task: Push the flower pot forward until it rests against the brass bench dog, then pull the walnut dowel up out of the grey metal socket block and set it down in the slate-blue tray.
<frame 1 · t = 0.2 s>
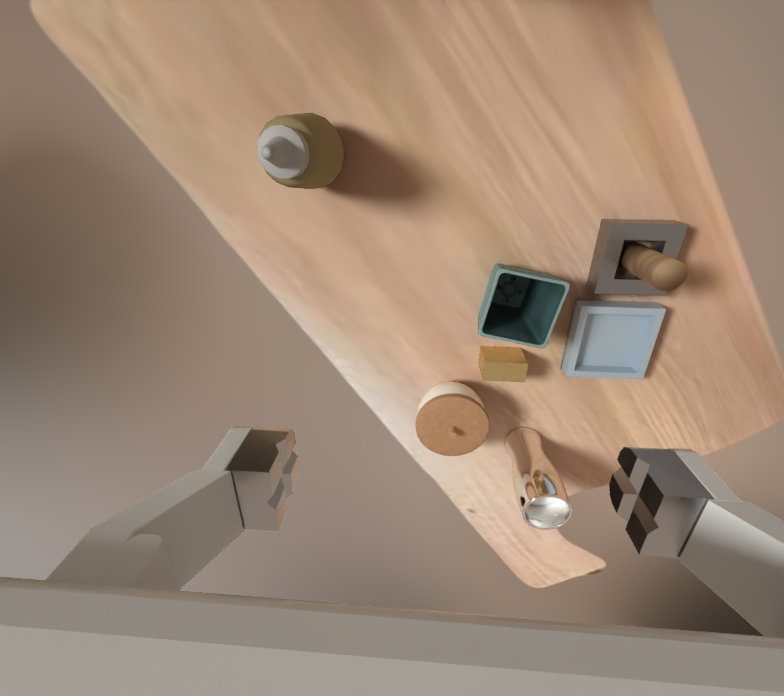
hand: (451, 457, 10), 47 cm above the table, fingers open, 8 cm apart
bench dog: (499, 355, 61), on the table
socket block: (628, 254, 53), on the table
lidded jar: (449, 397, 65), on the table
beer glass: (522, 440, 68), on the table
dowel: (647, 264, 48), in the socket block
squeeze bottle: (318, 152, 50), on the table
tray: (606, 336, 58), on the table
flower pot: (508, 287, 56), on the table
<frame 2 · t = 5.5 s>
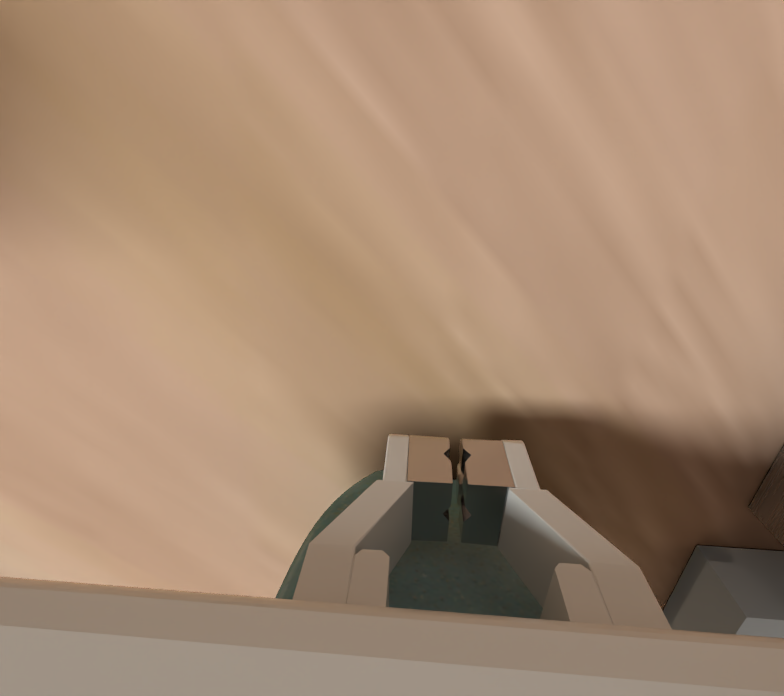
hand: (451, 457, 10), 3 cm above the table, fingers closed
flower pot: (434, 516, 15), on the table, touching gripper
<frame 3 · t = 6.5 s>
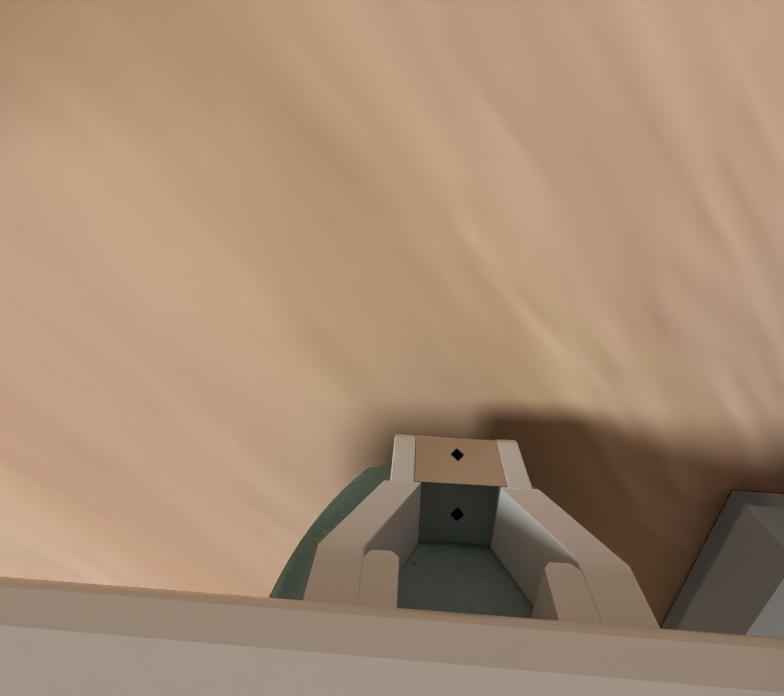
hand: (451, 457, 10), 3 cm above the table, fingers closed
flower pot: (438, 502, 14), on the table, touching gripper
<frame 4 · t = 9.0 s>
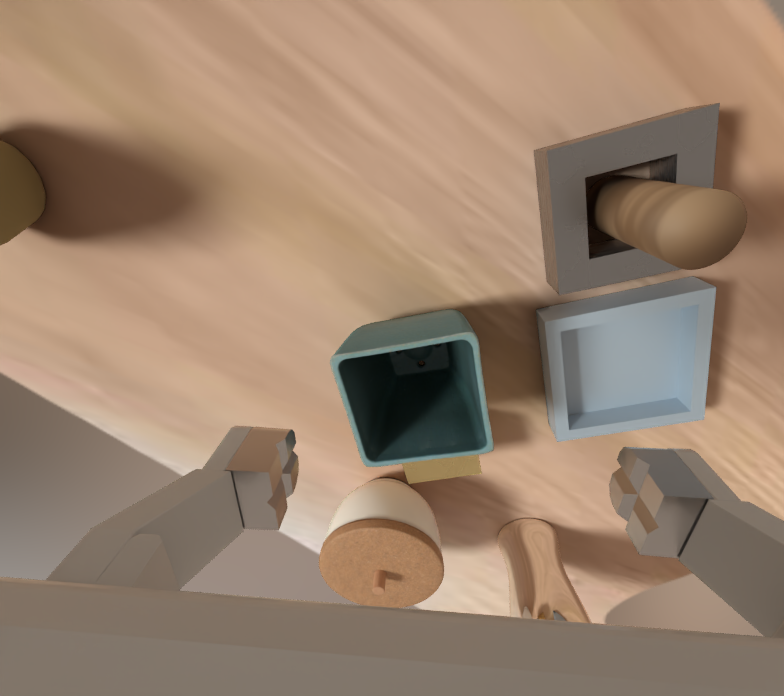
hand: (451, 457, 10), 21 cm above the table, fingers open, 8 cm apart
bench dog: (438, 425, 36), on the table
socket block: (609, 203, 27), on the table
lidded jar: (387, 498, 41), on the table
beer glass: (526, 536, 42), on the table
dowel: (646, 214, 22), in the socket block
squeeze bottle: (9, 182, 29), on the table
tray: (613, 357, 32), on the table
flower pot: (416, 342, 33), on the table
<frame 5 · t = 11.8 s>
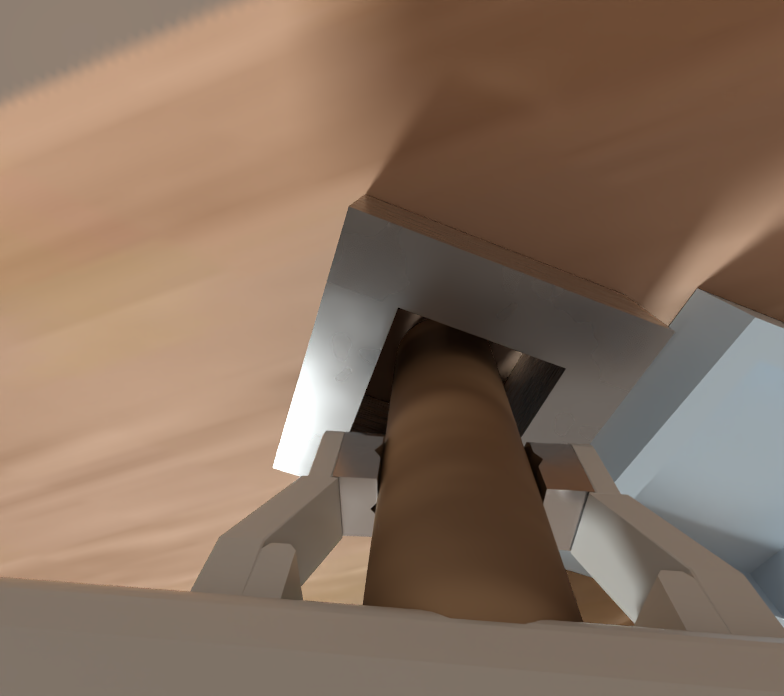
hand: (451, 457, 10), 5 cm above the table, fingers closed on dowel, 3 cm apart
socket block: (443, 361, 15), on the table
dowel: (452, 453, 10), in the socket block, touching gripper
tray: (724, 461, 16), on the table
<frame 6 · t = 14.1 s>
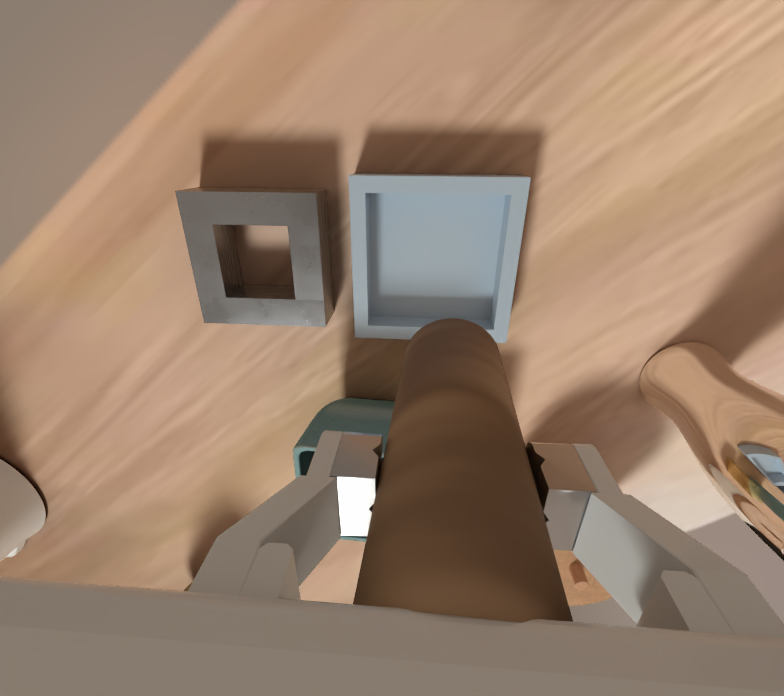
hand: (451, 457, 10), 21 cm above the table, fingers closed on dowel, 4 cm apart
socket block: (270, 253, 29), on the table
lidded jar: (546, 488, 38), on the table
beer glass: (677, 374, 32), on the table
dowel: (453, 452, 10), point 21 cm above the table, touching gripper
tray: (432, 256, 29), on the table
flower pot: (372, 420, 36), on the table
when the fingers open (7 cm above the table, at t = 16.8 s): dowel drops 2 cm, resting on tray.
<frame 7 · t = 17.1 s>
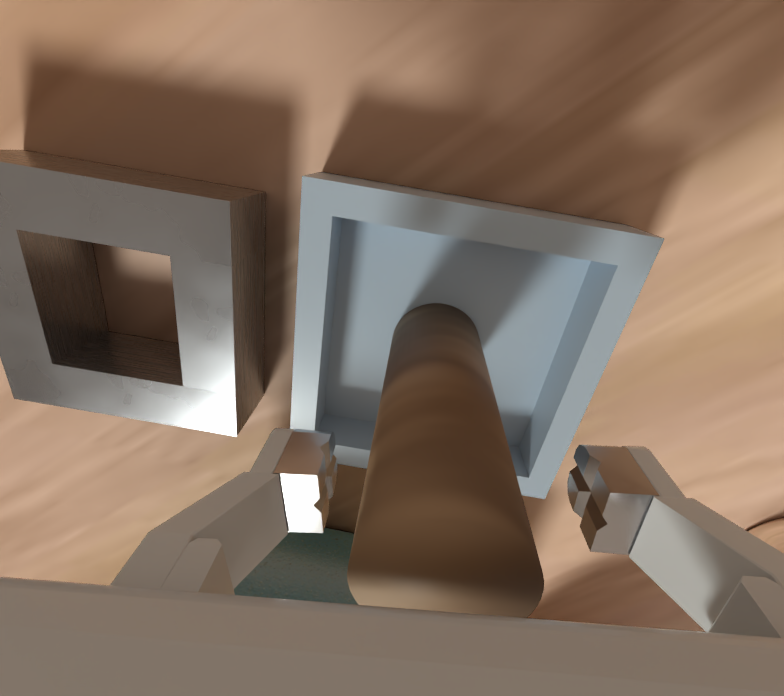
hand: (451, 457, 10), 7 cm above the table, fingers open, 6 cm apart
socket block: (157, 287, 17), on the table
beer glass: (780, 552, 21), on the table
dowel: (437, 418, 12), in the tray, point 6 cm above the table
tray: (441, 336, 17), on the table
flower pot: (311, 548, 24), on the table
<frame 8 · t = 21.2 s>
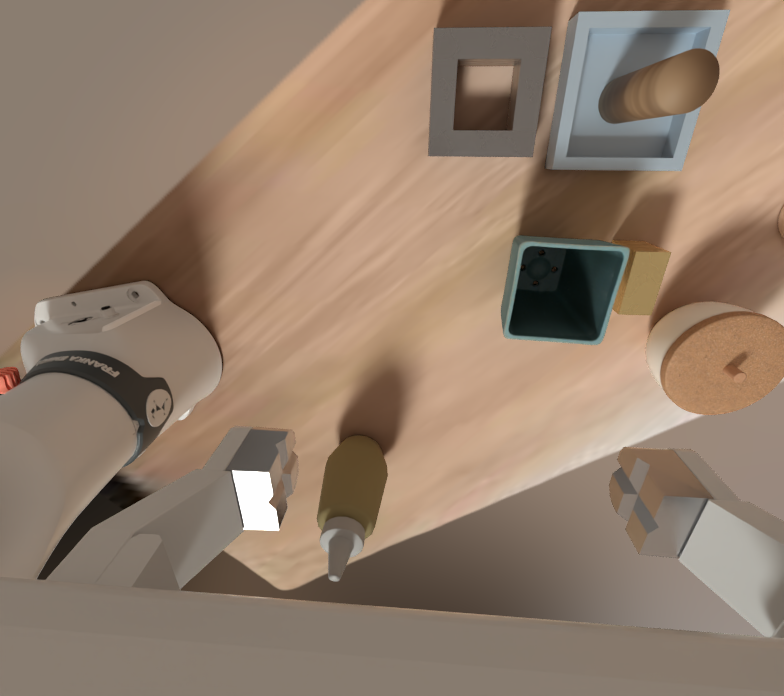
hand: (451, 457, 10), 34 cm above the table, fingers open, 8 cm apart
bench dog: (619, 269, 41), on the table
socket block: (481, 100, 35), on the table
lidded jar: (678, 333, 44), on the table
dowel: (649, 92, 30), in the tray, point 6 cm above the table
squeeze bottle: (360, 450, 55), on the table
tray: (620, 100, 35), on the table
flower pot: (536, 267, 42), on the table
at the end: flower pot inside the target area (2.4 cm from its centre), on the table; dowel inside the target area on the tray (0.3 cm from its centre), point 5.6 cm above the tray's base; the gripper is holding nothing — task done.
